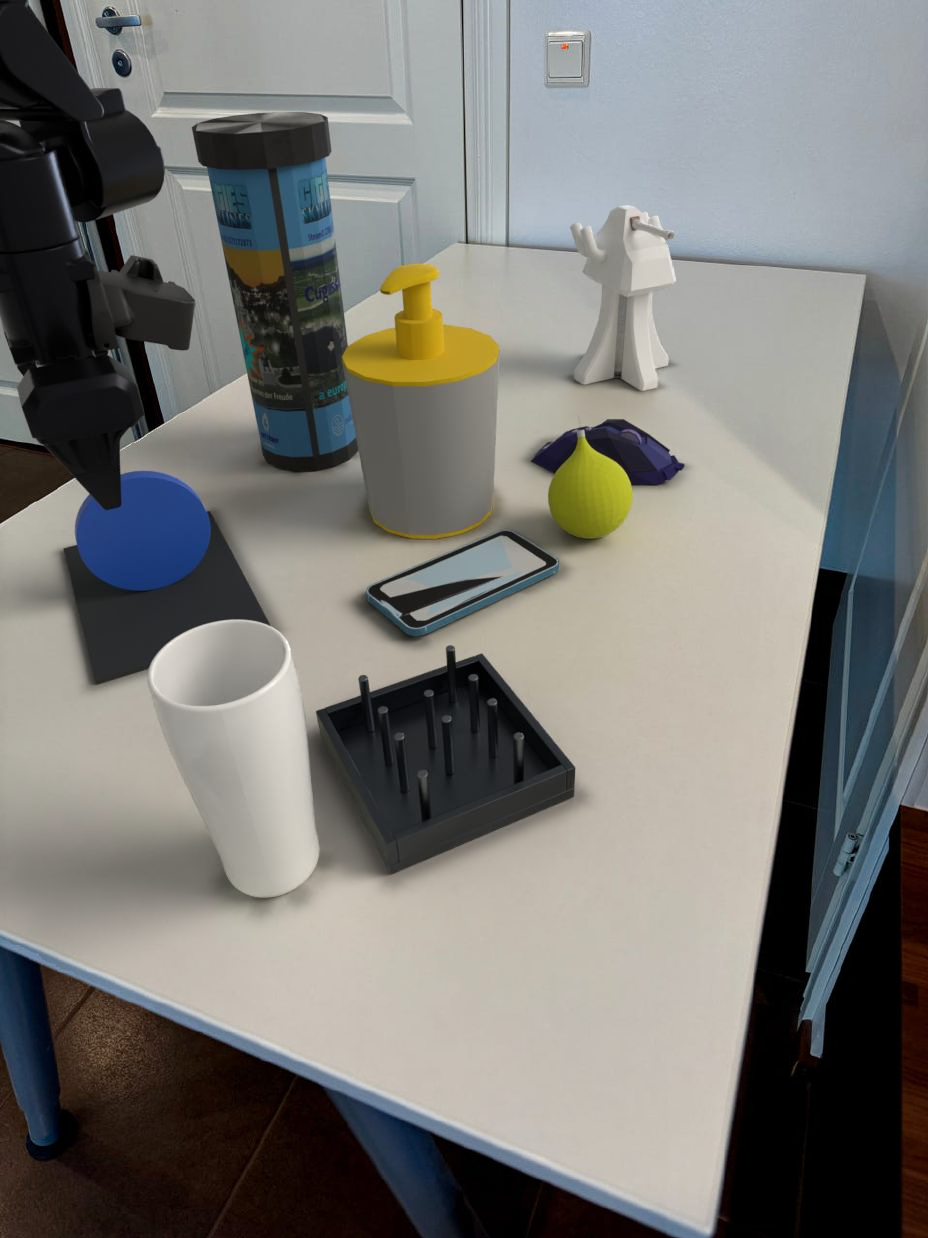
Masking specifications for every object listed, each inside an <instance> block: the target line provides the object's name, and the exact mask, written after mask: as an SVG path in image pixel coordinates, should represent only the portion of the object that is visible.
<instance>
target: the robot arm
mask: <svg viewBox="0 0 928 1238" xmlns="http://www.w3.org/2000/svg"><path fill="white" fill-rule="evenodd" d="M14 122H18V123H19V124H16V123H14ZM162 151H163V150H162V148H161V147H160V146H159V145H158V144H157V142H156V140H155V137H154V136H153V133H152V132H151V131H150V130H149V128H148V127H147V125H146V123H144V122H143V121H142V120H141V119H140V118H139V117H138V116H136V114H134V113H132V112H131V111H130V110H127V108H126V103H125V100H124V95H123V91H122V90H121V89H120V88H119V87H93V88H90V87H89V85H88V84H87V83H86V81H85V80H84V79H83V78H82V76H81V74H80V73H79V72H78V70H77V69H76V68H75V67H74V65H73V64H72V63H71V61H70V60H69V58H68V57H67V56H66V54H65V53H64V51H62V48H60V46H59V45H58V44H57V42H56V41H55V40H54V38H53V37H52V36H51V34H50V33H49V31H48V30H47V29H46V27H45V26H44V25H43V24H42V22H41V20H40V19H39V18H38V17H37V15H36V13H35V12H34V10H33V9H32V7H31V6H30V4H29V0H0V322H1V326H2V330H3V334H4V337H5V340H6V343H7V346H8V349H9V351H10V354H11V356H12V360H13V362H14V365H16V368H17V370H18V371H19V373H20V374H21V375H22V378H21V380H20V381H19V383H18V385H17V386H16V389H17V393H18V398H19V402H20V406H21V409H22V413H23V416H24V419H25V422H26V424H27V426H28V429H29V432H30V435H31V438H32V439H35V440H36V441H37V442H38V444H40V445H41V446H43V447H44V448H45V449H46V450H47V451H48V452H49V453H50V454H51V455H52V456H53V457H54V458H55V459H56V460H57V461H58V462H59V463H60V464H61V465H62V466H63V467H64V468H65V469H66V470H67V471H68V472H69V473H70V474H71V476H73V478H74V479H75V480H76V481H77V482H78V483H79V484H80V485H81V486H82V488H84V489H85V491H86V492H87V493H88V495H89V494H90V495H91V496H92V497H93V498H94V499H95V500H96V501H97V502H98V503H99V505H100V506H101V507H102V508H103V509H104V510H111V509H115V508H119V507H120V506H121V504H122V503H121V474H122V473H121V439H122V437H123V436H124V435H125V434H126V432H127V431H128V430H129V429H130V428H133V427H135V426H136V425H138V423H139V422H140V420H141V418H142V417H143V416H145V412H144V408H143V403H142V401H141V396H140V393H139V388H138V384H137V383H136V381H135V379H134V377H133V376H132V373H131V371H130V370H129V368H128V366H127V365H125V364H123V363H122V362H120V361H118V360H116V359H115V358H113V357H112V356H110V355H109V351H111V350H117V349H120V345H119V342H118V341H119V340H118V337H119V338H123V339H127V340H130V341H131V340H133V341H138V342H145V343H151V344H157V345H163V346H167V347H168V349H170V350H173V351H188V350H189V349H190V346H191V345H190V344H191V336H192V330H193V324H194V323H193V322H194V314H195V308H196V300H195V298H194V297H193V296H192V295H191V293H189V291H188V290H187V289H186V288H185V287H182V286H180V285H178V284H176V282H174V281H171V280H168V281H167V282H166V281H164V279H163V276H162V273H161V271H160V267H159V265H158V264H157V263H156V262H155V260H153V259H152V258H148V257H144V256H138V255H137V256H136V255H134V254H131V255H130V256H129V258H128V259H127V260H126V262H125V263H124V265H123V266H122V267H121V268H120V269H119V270H120V271H118V270H116V269H111V270H110V272H109V271H105V270H99V269H98V267H97V264H96V262H95V261H94V260H91V257H90V254H89V251H88V250H87V249H85V248H84V246H83V242H82V238H81V235H80V231H79V228H78V224H77V222H78V223H89V222H93V221H96V220H100V219H102V218H105V217H108V216H111V215H115V214H118V213H120V212H123V211H127V210H129V209H132V208H135V207H138V206H141V205H144V204H147V203H150V202H152V200H154V199H156V198H157V197H158V195H159V194H160V192H161V191H162V188H163V185H164V182H165V174H166V169H165V168H166V167H165V159H164V154H163V152H162Z"/></svg>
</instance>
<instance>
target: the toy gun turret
mask: <svg viewBox="0 0 928 1238" xmlns="http://www.w3.org/2000/svg"><path fill="white" fill-rule="evenodd" d="M570 231H571V232H570V233H571V235H572V237H573V241H574V245H575V248H576V250H577V251H578V253H579V254H580V255H581V256H583V257H584V258H586V261H585V264H584V266H583V269H582V271H581V272H582V273H583V274H584V275H585V276H586V278H587V279H590V280H592V281H594V282H595V283H598V284H599V285H601V299H600V308H599V313H598V320H597V322H596V326H595V328H594V331H593V334H592V337H591V340H590V342H589V344H588V347H587V349H586V351H585V353H584V354H583V356H582V358H581V360H580V361H579V363H578V365H577V366H576V367H575V369H574V373H573V376H574V377H573V379H574V380H575V381H577V382H578V383H579V384H581V385H588V384H593V383H598V382H602V381H607V380H610V379H614V378H615V379H621V380H622V381H624V382H625V383H627V384H629V385H631V386H632V387H633V388H635V389H636V390H638V391H640V392H644V391H649V390H653V389H657V388H658V383H659V376H658V374H657V370H656V369H660V368H664V367H668V365H669V354H667V352H666V351H665V349H664V347H663V344H661V342H660V339H659V336H658V333H657V328H656V325H655V320H654V317H653V293H654V292H659V291H664V290H668V289H670V288H672V286H673V285H674V284H675V283H676V281H677V277H676V272H675V268H674V264H673V260H672V256H671V253H670V248H669V245H668V244H667V243H666V242H672V241H673V240H674V239H675V237H676V236H675V231H673V230H672V229H667V230H666V229H664V228H663V226H662V223H661V221H660V218H659V215H653V216H651V217H650V216H649V214H648V212H647V211H640V209H638V208H637V207H635V206H632V205H630V204H626V205H620V206H616V207H615V208H613V209H611V210H610V211H609V213H608V217H607V219H606V220H605V222H604V223H603V225H602V226H601V228H600V229H599V230H598V231H597V232H596V233H594V232H593V229H592V226H590V225H587V226H584V227H583V226H582V223H581V222H579V221H578V222H574V223H572V224H571V225H570Z"/></svg>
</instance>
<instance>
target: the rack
mask: <svg viewBox="0 0 928 1238" xmlns="http://www.w3.org/2000/svg"><path fill="white" fill-rule="evenodd" d="M445 658H446V660H445V661H446V665H444V666H441V667H438V668H435V669H432V670H429V671H426V672H424V673H421V674H418V675H414V676H412V677H410V678H406V679H403V680H401V681H398V682H395V683H391V684H389V685H386V686H384V687H383V686H382V687H379V688H378V689H375V690H372V691H371V689H370V682H369V681H370V680H369V676H368V675H366V674H360V676H358V686H359V694H360V695H358V696H355V697H351V698H349V699H346V700H343V701H340V702H337V703H334V704H332V705H329V706H326V707H324V708H320V709H317V710H316V711H315V715H316V716H315V717H316V720H317V725H318V726H317V727H318V731H319V736H320V741H321V743H322V745H323V746H324V748H325V750H326V752H327V754H328V756H329V758H330V760H331V762H332V764H333V765H334V767H335V770H336V772H337V774H338V775H339V777H340V779H341V781H342V784H343V785H344V787H345V788H346V791H347V793H348V794H349V797H350V798H351V801H352V802H353V804H354V807H355V809H356V810H357V812H358V814H359V816H360V818H361V820H362V822H363V824H364V826H365V828H366V830H367V832H368V833H369V836H370V838H371V839H372V841H373V843H374V845H375V847H376V849H377V852H378V853H379V855H380V857H381V859H382V861H383V862H384V865H385V866H386V868H387V870H388V873H389V874H390V875H393V874H395V873H398V872H400V871H403V870H405V869H407V868H411V867H412V866H415V865H417V864H419V863H422V862H424V861H426V860H428V859H429V860H430V859H431V858H433V857H436V856H438V855H441V854H442V853H443V854H444V853H445V852H447V851H451V850H452V849H455V848H457V847H459V846H461V845H464V844H466V843H469V842H471V841H474V840H476V839H478V838H480V837H483V836H485V835H488V834H489V833H492V832H494V831H497V830H499V829H502V828H504V827H507V826H509V825H511V824H513V823H516V822H518V821H520V820H524V819H526V818H527V817H530V816H531V815H532V816H533V815H534V814H537V813H539V812H542V811H544V810H546V809H548V808H551V807H554V806H555V805H558V804H560V803H563V802H565V801H568V800H569V799H572V798H574V797H575V784H576V783H575V782H576V766H575V765H574V764H573V762H572V761H571V760H570V758H568V756H567V755H566V754H565V753H564V751H563V750H562V749H561V748H560V746H559V745H558V744H557V743H556V742H555V741H554V739H553V738H552V737H551V736H550V734H549V733H548V732H547V730H546V729H545V728H544V727H543V725H541V723H540V722H539V720H537V718H536V717H535V716H534V715H533V713H532V712H531V711H530V710H529V708H528V707H527V706H526V705H525V704H524V703H523V701H522V700H521V699H520V697H519V696H518V695H517V694H516V693H515V692H514V690H513V689H512V687H510V686H509V684H508V683H507V682H506V681H505V679H504V678H503V677H502V675H501V674H500V673H499V672H498V670H496V668H495V667H494V665H493V664H491V662H490V661H489V660H488V658H487V657H486V656H485V655H484V654H483V652H482V653H478V654H476V655H473V656H470V657H467V658H464V659H461V660H459V661H457V659H456V658H457V657H456V647H455V646H454V645H452V644H449V645H447V646H446V647H445Z"/></svg>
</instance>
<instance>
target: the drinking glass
mask: <svg viewBox="0 0 928 1238" xmlns="http://www.w3.org/2000/svg"><path fill="white" fill-rule="evenodd" d="M146 675H147V677H146V679H147V681H146V682H147V686H148V690H149V694H150V697H151V701H152V704H153V708H154V712H155V716H156V719H157V722H158V724H159V727H160V730H161V733H162V736H163V738H164V741H165V744H166V746H167V749H168V751H169V752H170V756H171V758H172V760H173V762H174V764H175V767H176V769H177V771H178V773H179V775H180V777H181V779H182V781H183V783H184V786H185V787H186V789H187V792H188V793H189V795H190V798H191V800H192V801H193V803H194V805H195V807H196V809H197V812H198V813H199V815H200V817H201V820H202V821H203V824H204V826H205V828H206V830H207V833H208V834H209V836H210V839H211V840H212V843H213V845H214V847H215V850H216V851H217V853H218V856H219V859H220V861H221V864H222V868H223V870H224V874H225V875H226V877H227V879H228V881H229V882H230V884H231V885H232V886H233V887H234V889H236V890H238V891H239V892H241V893H243V894H244V895H247V896H250V897H253V898H254V897H255V898H261V899H262V898H274V897H280V896H282V895H285V894H288V893H290V892H293V891H294V890H296V889H298V888H299V887H300V886H301V885H302V884H303V883H305V882H306V881H307V880H308V879H309V877H310V876H311V875H313V873H314V870H315V869H316V867H317V864H318V862H319V859H320V849H321V848H320V847H321V846H320V841H319V835H318V830H317V825H316V818H315V817H316V816H315V808H314V796H313V786H312V774H311V762H310V751H309V741H308V739H309V737H308V728H307V727H308V726H307V717H306V711H305V704H304V699H303V692H302V688H301V684H300V678H299V674H298V671H297V667H296V663H295V660H294V657H293V653H292V649H291V645H290V643H289V641H288V640H287V638H286V637H285V636H284V634H283V633H282V632H281V631H279V630H277V629H276V628H275V627H274V626H272V625H271V626H269V625H267V624H264V623H261V622H257V621H251V620H239V619H237V620H223V621H216V622H212V623H208V624H204V625H201V626H198V627H195V628H193V629H190V630H188V631H186V632H184V633H182V634H180V635H179V636H177V637H175V638H174V639H172V640H171V641H170V642H168V643H167V644H166V645H165V646H164V647H163V648H162V649H161V650H160V651H159V652H158V653H157V654H156V656H155V657H154V659H153V660H152V662H151V664H150V667H149V668H148V669H147V674H146Z"/></svg>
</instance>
